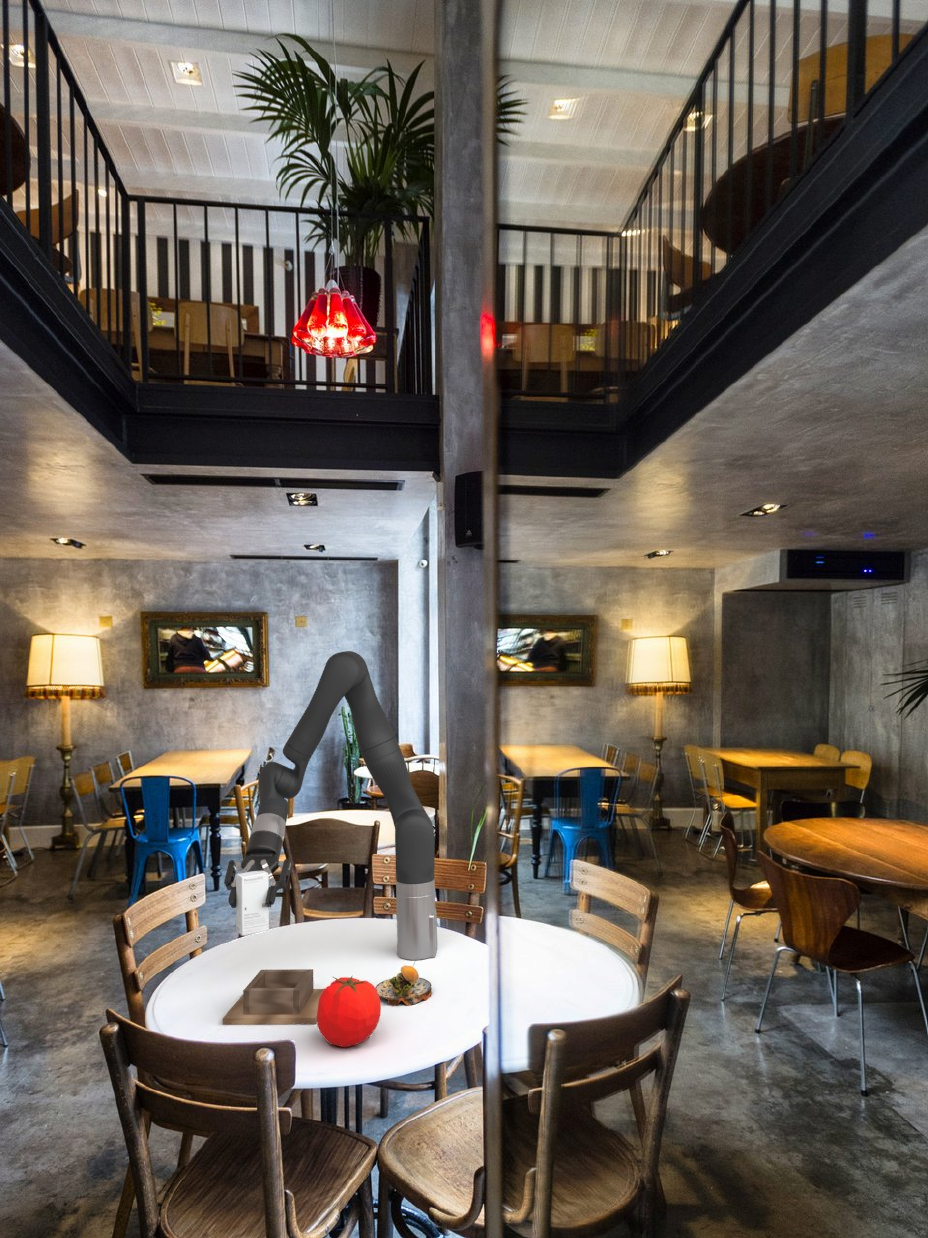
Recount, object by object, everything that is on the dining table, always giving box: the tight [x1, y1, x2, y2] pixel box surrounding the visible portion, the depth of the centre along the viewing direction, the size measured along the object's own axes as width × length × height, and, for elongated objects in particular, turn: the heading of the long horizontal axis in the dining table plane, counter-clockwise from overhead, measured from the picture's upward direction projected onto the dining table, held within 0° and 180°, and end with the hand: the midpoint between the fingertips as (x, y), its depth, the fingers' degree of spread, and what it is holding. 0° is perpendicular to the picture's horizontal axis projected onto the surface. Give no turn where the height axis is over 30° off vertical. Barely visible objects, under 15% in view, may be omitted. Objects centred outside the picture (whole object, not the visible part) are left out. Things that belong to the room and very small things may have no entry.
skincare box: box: [235, 870, 270, 937], centre depth 168 cm, size 6×4×12 cm
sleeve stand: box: [222, 968, 325, 1026], centre depth 156 cm, size 18×14×6 cm
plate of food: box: [375, 961, 433, 1007], centre depth 162 cm, size 12×12×8 cm
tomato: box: [316, 975, 382, 1048], centre depth 141 cm, size 12×12×11 cm
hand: (250, 905), depth 166 cm, fingers closed on skincare box, 7 cm apart
